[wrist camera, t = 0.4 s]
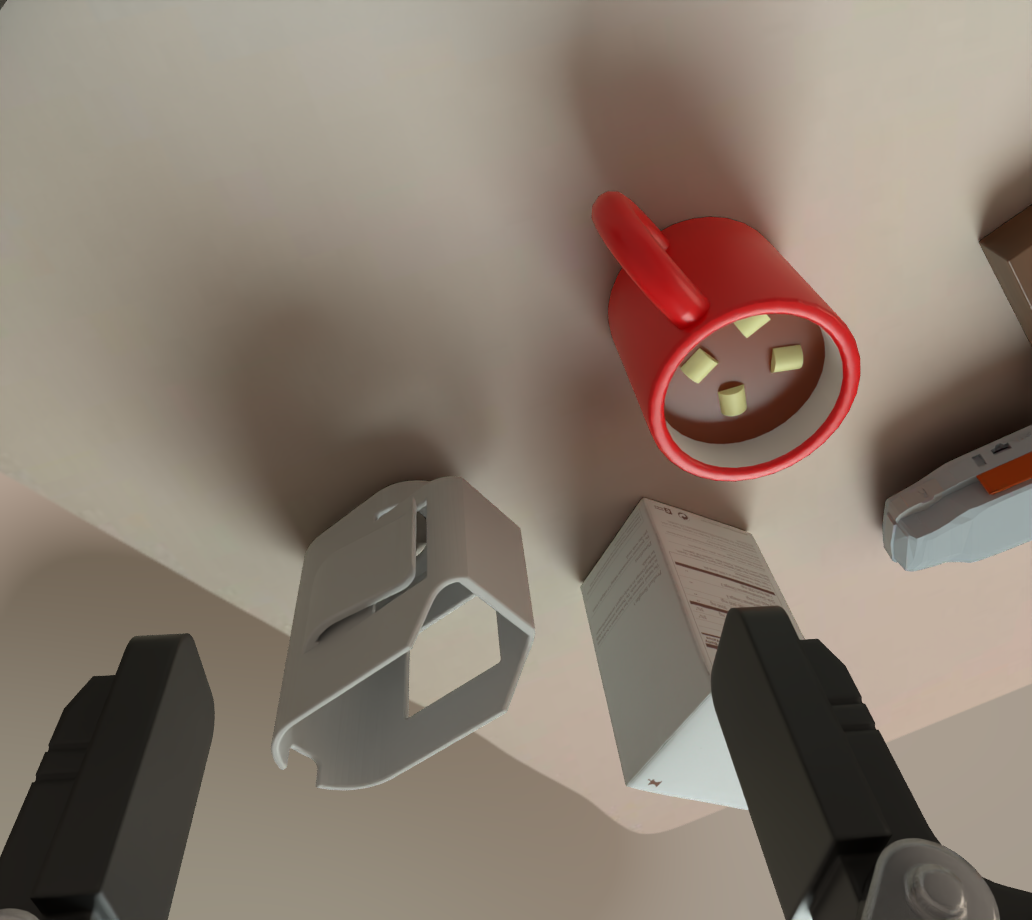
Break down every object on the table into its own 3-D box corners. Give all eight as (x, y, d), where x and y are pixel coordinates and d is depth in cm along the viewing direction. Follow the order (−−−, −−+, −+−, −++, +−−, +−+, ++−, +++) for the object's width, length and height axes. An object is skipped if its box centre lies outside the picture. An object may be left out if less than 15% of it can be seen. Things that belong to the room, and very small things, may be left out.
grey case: (1140, 441, 43) (1168, 357, 37) (1180, 484, 41) (1217, 402, 35) (881, 552, 46) (867, 491, 40) (908, 595, 44) (897, 539, 38)
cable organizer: (524, 494, 41) (555, 686, 31) (354, 612, 45) (334, 814, 35) (437, 414, 37) (440, 602, 28) (261, 549, 41) (211, 754, 32)
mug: (653, 98, 30) (715, 159, 23) (816, 300, 35) (901, 392, 29) (505, 244, 33) (524, 333, 26) (678, 409, 38) (728, 515, 32)
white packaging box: (683, 615, 47) (753, 816, 37) (576, 584, 45) (619, 791, 35) (755, 530, 44) (855, 727, 34) (643, 491, 41) (714, 691, 31)
